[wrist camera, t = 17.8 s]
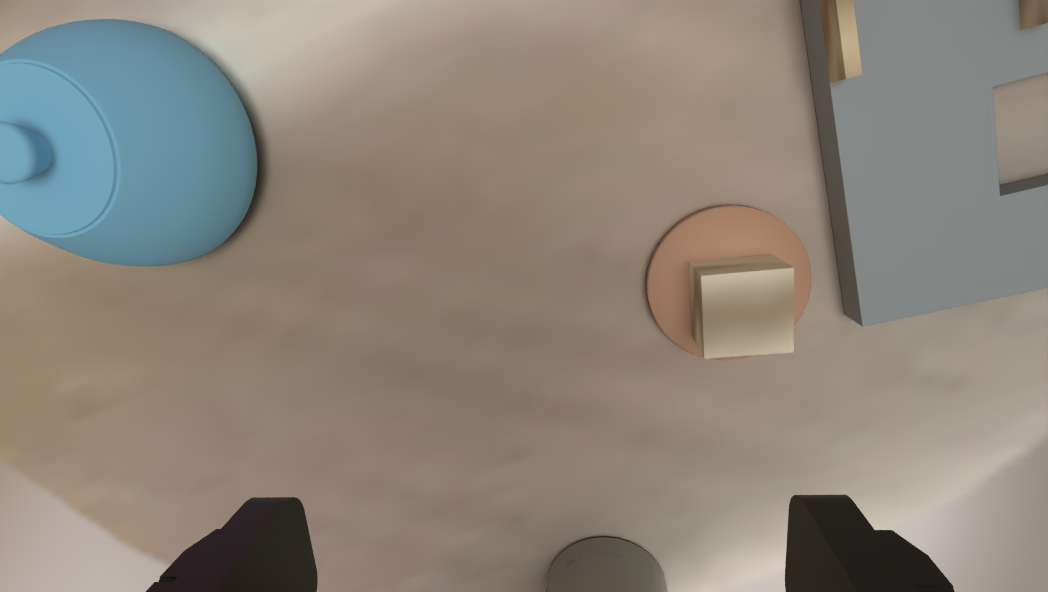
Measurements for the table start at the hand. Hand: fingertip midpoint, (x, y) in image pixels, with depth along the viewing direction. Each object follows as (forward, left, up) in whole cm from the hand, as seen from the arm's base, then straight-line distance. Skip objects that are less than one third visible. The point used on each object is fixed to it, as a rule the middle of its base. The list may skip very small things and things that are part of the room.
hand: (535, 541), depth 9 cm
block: (-6, -9, -28) cm, 30 cm away
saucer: (-5, -9, -29) cm, 31 cm away
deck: (+3, -24, -29) cm, 38 cm away
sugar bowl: (+13, +25, -30) cm, 41 cm away
